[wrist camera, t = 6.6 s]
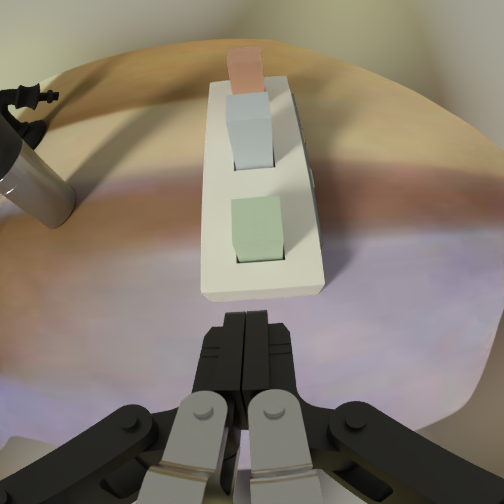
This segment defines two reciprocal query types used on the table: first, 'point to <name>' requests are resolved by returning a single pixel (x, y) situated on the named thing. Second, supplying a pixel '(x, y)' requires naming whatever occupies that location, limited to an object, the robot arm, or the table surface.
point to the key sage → (257, 229)
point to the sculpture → (26, 98)
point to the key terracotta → (245, 70)
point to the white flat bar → (259, 185)
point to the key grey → (250, 130)
